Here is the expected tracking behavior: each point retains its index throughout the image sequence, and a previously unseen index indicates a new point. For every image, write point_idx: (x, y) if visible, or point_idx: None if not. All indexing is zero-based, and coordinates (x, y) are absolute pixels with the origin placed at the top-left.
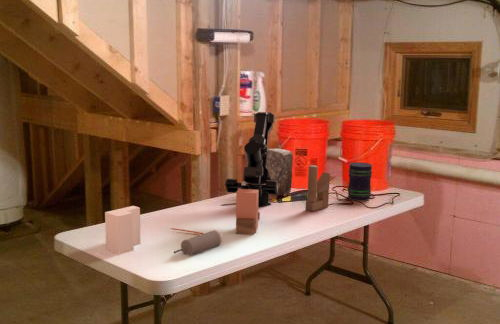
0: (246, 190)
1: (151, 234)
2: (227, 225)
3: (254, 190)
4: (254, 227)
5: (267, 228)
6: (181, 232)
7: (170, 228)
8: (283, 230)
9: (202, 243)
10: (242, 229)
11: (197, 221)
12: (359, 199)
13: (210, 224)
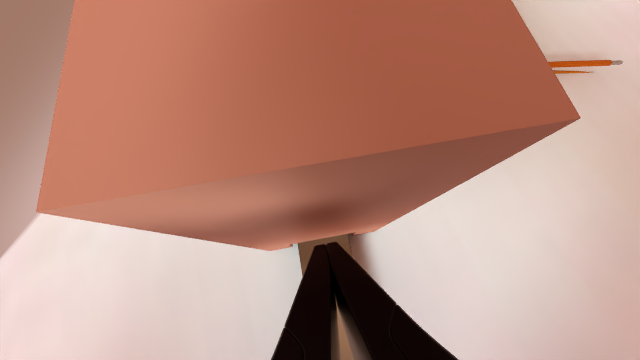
0: (330, 40)
1: (632, 23)
2: (440, 240)
3: (147, 103)
4: None
5: (221, 270)
6: (555, 72)
7: (617, 61)
8: (132, 267)
9: None
10: None
11: (625, 249)
12: None
13: (528, 223)
